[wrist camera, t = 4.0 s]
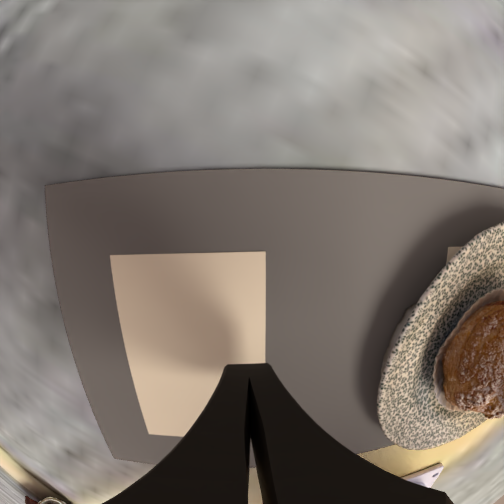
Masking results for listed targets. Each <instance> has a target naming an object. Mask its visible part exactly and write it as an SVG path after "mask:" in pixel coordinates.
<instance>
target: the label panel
mask: <svg viewBox="0 0 504 504" xmlns="http://www.w3.org/2000/svg"><path fill="white" fill-rule="evenodd" d="M45 200H46V214H47V226H48V235H49V244H50V251H51V258H52V265H53V271H54V277H55V283H56V288H57V293H58V298H59V303H60V307H61V312H62V316H63V320H64V324H65V328H66V332H67V336H68V339H69V343H70V346H71V350H72V353H73V357H74V360H75V363H76V366H77V369H78V372H79V375H80V378H81V381H82V384H83V387H84V390H85V392H86V395H87V398H88V400H89V403H90V406H91V408H92V411H93V413H94V416H95V418H96V420H97V423H98V425H99V427H100V430H101V432H102V434H103V436H104V438H105V441H106V443H107V445H108V447H109V449H110V451H111V453H112V455H113V457H114V458H115V459H121V460H127V461H133V462H140V463H148V464H158V463H159V462H160V461H161V460H162V459H163V458H164V457H165V456H166V455H167V454H168V453H169V452H170V451H171V450H172V449H173V448H174V447H175V446H176V445H177V444H178V443H179V442H180V440H181V439H182V438H183V437H184V436H185V434H186V433H187V432H188V431H189V429H190V428H191V427H192V425H193V424H194V423H195V421H196V420H197V418H198V417H199V415H200V414H201V413H202V411H203V410H204V408H205V406H206V405H207V403H208V401H209V400H210V398H211V396H212V394H213V392H214V391H215V389H216V387H217V385H218V383H219V380H220V378H221V376H222V373H223V370H224V367H225V366H226V365H227V364H254V363H269V364H270V365H271V366H272V368H273V370H274V372H275V373H276V375H277V377H278V378H279V380H280V381H281V382H282V384H283V385H284V387H285V388H286V389H287V391H288V392H289V393H290V394H291V396H292V397H293V398H294V399H295V400H296V402H297V403H298V404H299V405H300V406H301V407H302V409H303V410H304V411H305V412H306V413H307V414H308V415H309V416H310V417H311V418H312V419H313V420H314V421H315V422H316V423H317V424H318V425H319V426H320V427H321V428H322V429H324V430H325V431H326V432H327V433H328V434H329V435H331V436H332V437H333V438H334V439H336V440H337V441H338V442H339V443H341V444H342V445H344V446H345V447H346V448H348V449H349V450H351V451H352V452H353V453H355V454H359V453H363V452H368V451H372V450H376V449H380V448H384V447H387V446H391V445H395V443H393V442H391V441H390V440H389V439H388V438H387V437H386V436H385V435H384V433H383V431H382V428H381V426H380V424H379V420H378V415H377V397H378V386H379V383H380V381H381V368H382V363H383V357H384V355H385V353H386V350H387V349H388V347H389V342H390V339H391V337H392V335H393V332H394V330H395V328H396V326H397V324H398V323H399V321H400V320H401V319H402V318H403V315H404V312H405V310H406V309H407V308H411V305H413V304H416V302H417V301H418V300H419V299H420V297H421V296H422V294H423V293H424V292H425V291H426V289H427V288H428V287H429V285H430V284H431V281H432V279H433V278H434V277H435V276H436V275H437V274H438V273H439V272H440V271H441V269H442V268H443V267H444V266H446V264H447V263H448V262H449V261H450V260H451V259H452V257H453V256H454V255H455V254H456V253H457V252H458V251H459V250H460V249H461V248H462V247H463V246H465V245H466V244H467V243H468V242H469V241H470V240H472V239H473V238H474V236H476V235H477V234H479V233H481V232H482V231H484V230H487V229H488V228H490V227H493V226H495V225H497V224H499V223H502V222H504V189H502V188H497V187H491V186H485V185H479V184H472V183H465V182H458V181H451V180H443V179H435V178H427V177H418V176H408V175H397V174H385V173H372V172H357V171H339V170H314V169H220V170H195V171H176V172H161V173H148V174H136V175H125V176H115V177H106V178H97V179H88V180H81V181H73V182H66V183H59V184H52V185H46V186H45ZM416 305H417V304H416ZM251 467H256V463H255V458H254V453H253V448H252V442H250V464H249V468H251Z"/></svg>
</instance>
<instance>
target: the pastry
mask: <svg viewBox="0 0 504 504" xmlns="http://www.w3.org/2000/svg"><path fill="white" fill-rule="evenodd" d="M416 304H417V305H416ZM416 304H413V305H411V308H407V309H406V310H405V312H404V315H403V318H402V319H401V320H400V321H399V323H398V324H397V326H396V328H395V330H394V332H393V335H392V337H391V339H390V342H389V347H388V349H387V350H386V353H385V355H384V357H383V363H382V368H381V381H380V383H379V386H378V397H377V415H378V420H379V424H380V426H381V428H382V431H383V433H384V435H385V436H386V437H387V438H388V439H389V440H390V441H391V442H393V443H395V444H397V445H398V446H400V447H402V448H405V449H409V450H425V449H430V448H434V447H438V446H440V445H443V444H445V443H448V442H451V441H453V440H456V439H458V438H460V437H462V436H463V435H465V434H466V433H468V432H469V431H471V430H472V429H474V428H476V427H477V426H479V425H480V424H481V423H483V422H484V421H485V420H487V419H493V418H500V417H502V416H504V222H502V223H499V224H497V225H495V226H493V227H490V228H488V229H487V230H484V231H482V232H481V233H479V234H477V235H476V236H474V238H473V239H472V240H470V241H469V242H468V243H467V244H466V245H465V246H463V247H462V248H461V249H460V250H459V251H458V252H457V253H456V254H455V255H454V256H453V257H452V259H451V260H450V261H449V262H448V263H447V264H446V266H444V267H443V268H442V269H441V271H440V272H439V273H438V274H437V275H436V276H435V277H434V278H433V279H432V281H431V284H430V285H429V287H428V288H427V289H426V291H425V292H424V293H423V294H422V296H421V297H420V299H419V300H418V301H417V302H416Z"/></svg>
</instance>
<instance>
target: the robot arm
mask: <svg viewBox="0 0 504 504" xmlns="http://www.w3.org/2000/svg"><path fill="white" fill-rule="evenodd" d="M250 442H252V448H253V453H254V458H255V463H256V468H257V474H258V479H259V484H260V488H261V493H262V500H263V504H454V503H453V502H452V501H451V500H450V498H449V497H448V496H447V494H446V493H445V492H442V491H438V490H435V489H432V488H430V487H431V486H432V484H433V483H434V481H435V480H436V479H437V477H438V476H439V474H440V473H441V471H442V470H443V468H444V466H443V465H442V463H439V464H437V465H434V466H432V467H429V468H427V469H424V470H421V471H419V472H416V473H413V474H410V475H407V476H404V477H402V478H400V477H398V476H395V475H393V474H391V473H389V472H387V471H384V470H382V469H381V468H379V467H377V466H375V465H374V464H372V463H370V462H368V461H367V460H365V459H363V458H361V457H360V456H358V455H356V454H355V453H353V452H352V451H351V450H349V449H348V448H346V447H345V446H344V445H342V444H341V443H339V442H338V441H337V440H336V439H334V438H333V437H332V436H331V435H329V434H328V433H327V432H326V431H325V430H324V429H322V428H321V427H320V426H319V425H318V424H317V423H316V422H315V421H314V420H313V419H312V418H311V417H310V416H309V415H308V414H307V413H306V412H305V411H304V410H303V409H302V407H301V406H300V405H299V404H298V403H297V402H296V400H295V399H294V398H293V397H292V396H291V394H290V393H289V392H288V391H287V389H286V388H285V387H284V385H283V384H282V382H281V381H280V380H279V378H278V377H277V375H276V373H275V372H274V370H273V368H272V366H271V365H270V364H269V363H254V364H227V365H226V366H225V367H224V370H223V373H222V376H221V378H220V380H219V383H218V385H217V387H216V389H215V391H214V392H213V394H212V396H211V398H210V400H209V401H208V403H207V405H206V406H205V408H204V410H203V411H202V413H201V414H200V415H199V417H198V418H197V420H196V421H195V423H194V424H193V425H192V427H191V428H190V429H189V431H188V432H187V433H186V434H185V436H184V437H183V438H182V439H181V440H180V442H179V443H178V444H177V445H176V446H175V447H174V448H173V449H172V450H171V451H170V452H169V453H168V454H167V455H166V456H165V457H164V458H163V459H162V460H161V461H160V462H159V463H158V464H157V465H156V466H155V467H154V468H153V469H151V470H150V471H149V472H148V473H147V474H145V475H144V476H143V477H142V478H140V479H139V480H138V481H136V482H135V483H133V484H132V485H131V486H129V487H128V488H127V489H125V490H124V491H122V492H121V493H119V494H118V495H116V496H115V497H113V498H111V499H110V500H108V501H106V502H104V503H102V504H248V484H249V464H250Z"/></svg>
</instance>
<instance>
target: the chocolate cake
mask: <svg viewBox="0 0 504 504" xmlns="http://www.w3.org/2000/svg"><path fill="white" fill-rule="evenodd" d="M25 503H26V504H66V503H65V502H63V501H62V500H58V499H57V498H53V497H48V498H47V497H46V498H45V499H43V501H40V502H39V503H38V502H37V501H34V500H32V499H30V498H29V497H28V496H25Z"/></svg>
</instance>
